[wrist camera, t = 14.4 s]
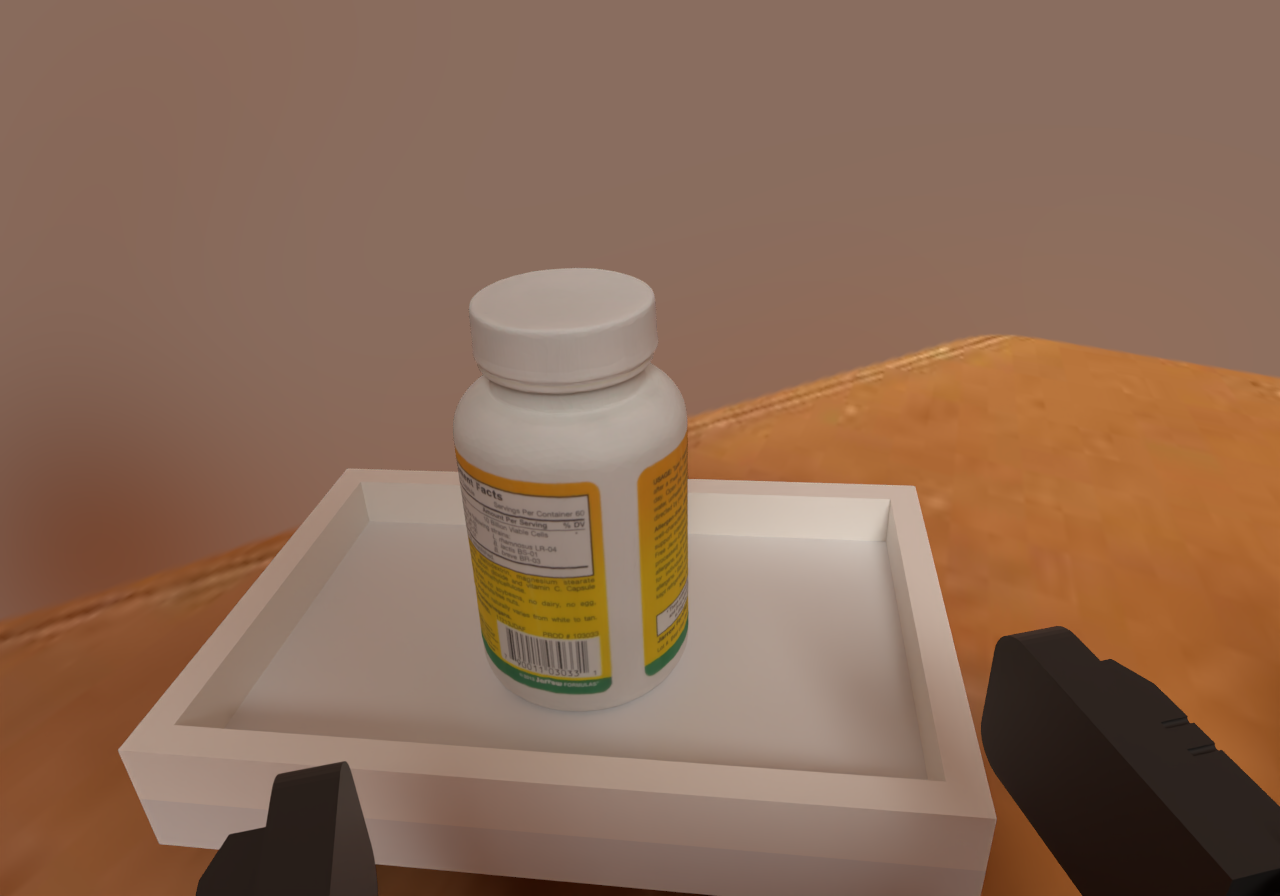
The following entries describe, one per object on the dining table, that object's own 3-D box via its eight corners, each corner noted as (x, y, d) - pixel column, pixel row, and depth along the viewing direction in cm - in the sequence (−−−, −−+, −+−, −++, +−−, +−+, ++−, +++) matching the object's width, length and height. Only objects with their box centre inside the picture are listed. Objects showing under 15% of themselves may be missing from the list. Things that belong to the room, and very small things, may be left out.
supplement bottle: (523, 749, 21) (469, 364, 16) (462, 616, 25) (406, 282, 21) (728, 675, 23) (732, 310, 18) (639, 562, 27) (624, 245, 23)
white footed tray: (195, 926, 22) (118, 750, 20) (379, 613, 33) (347, 468, 30) (957, 1005, 20) (996, 818, 17) (896, 640, 30) (914, 485, 28)
